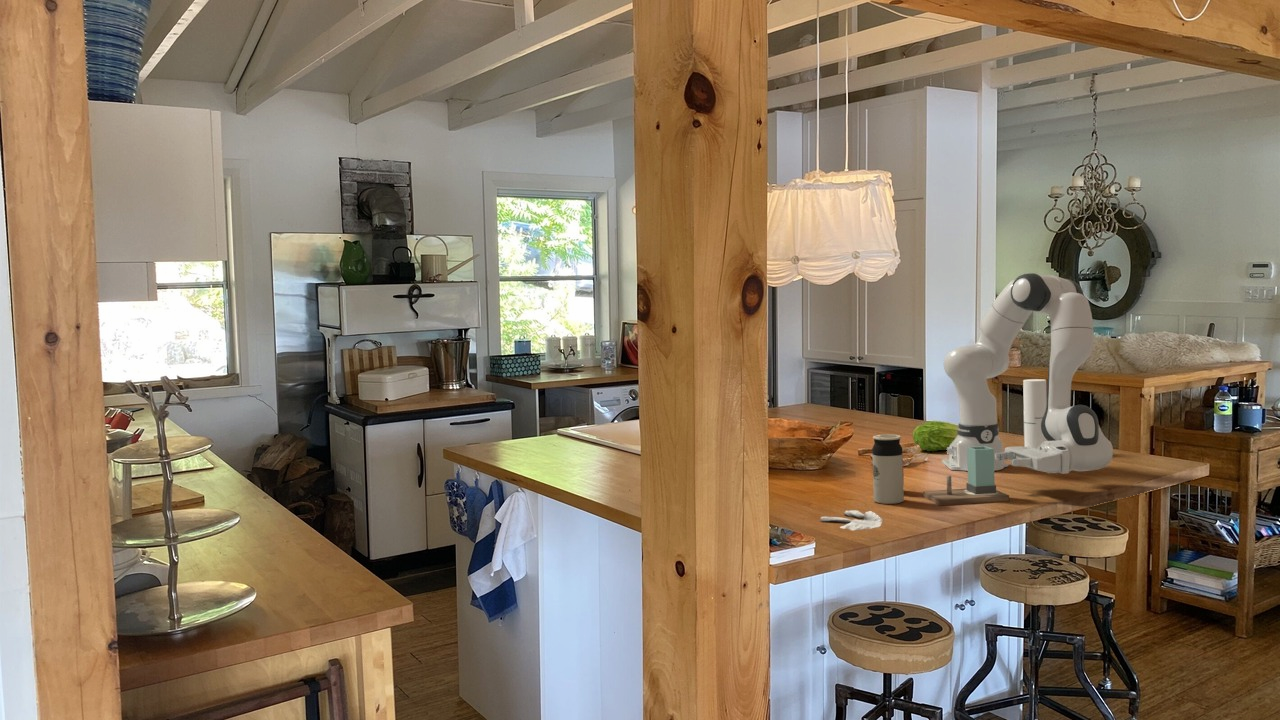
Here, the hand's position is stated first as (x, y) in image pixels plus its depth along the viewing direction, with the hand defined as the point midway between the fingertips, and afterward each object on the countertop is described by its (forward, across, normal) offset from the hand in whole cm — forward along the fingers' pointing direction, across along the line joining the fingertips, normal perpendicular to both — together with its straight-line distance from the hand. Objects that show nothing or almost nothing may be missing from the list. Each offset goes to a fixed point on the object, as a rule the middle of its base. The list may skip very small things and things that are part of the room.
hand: (1003, 459), depth 270 cm
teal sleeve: (+7, 0, +8) cm, 11 cm away
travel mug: (+32, -3, +10) cm, 33 cm away
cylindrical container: (-39, -59, +10) cm, 72 cm away
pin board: (+11, 0, +10) cm, 15 cm away
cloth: (+48, +14, +11) cm, 51 cm away
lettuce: (-16, -78, +10) cm, 80 cm away
